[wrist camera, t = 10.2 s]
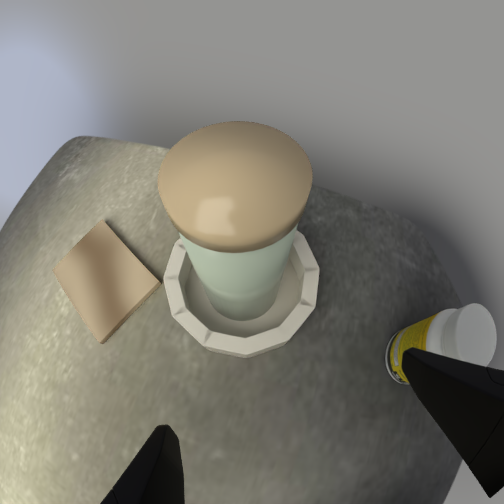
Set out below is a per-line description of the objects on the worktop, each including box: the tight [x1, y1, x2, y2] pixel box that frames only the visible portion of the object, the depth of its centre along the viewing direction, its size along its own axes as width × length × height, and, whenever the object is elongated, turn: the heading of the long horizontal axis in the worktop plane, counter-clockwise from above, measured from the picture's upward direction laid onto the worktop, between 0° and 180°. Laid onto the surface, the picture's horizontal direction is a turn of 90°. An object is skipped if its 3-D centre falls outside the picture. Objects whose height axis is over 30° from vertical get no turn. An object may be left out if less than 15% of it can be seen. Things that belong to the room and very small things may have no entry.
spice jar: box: [158, 121, 313, 321], centre depth 15 cm, size 5×5×12 cm
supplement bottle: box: [385, 303, 497, 385], centre depth 15 cm, size 5×5×8 cm
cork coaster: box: [53, 219, 161, 344], centre depth 21 cm, size 7×9×1 cm
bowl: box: [163, 230, 320, 358], centre depth 20 cm, size 10×10×3 cm
